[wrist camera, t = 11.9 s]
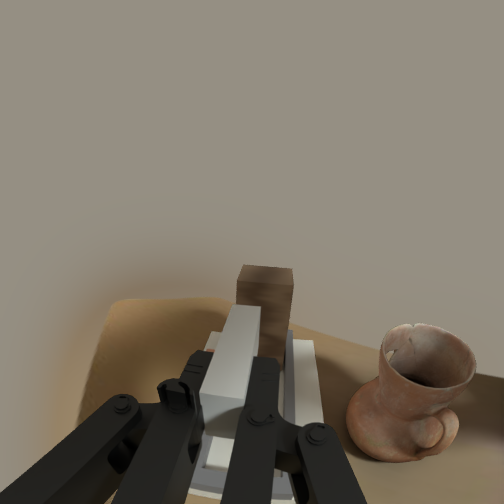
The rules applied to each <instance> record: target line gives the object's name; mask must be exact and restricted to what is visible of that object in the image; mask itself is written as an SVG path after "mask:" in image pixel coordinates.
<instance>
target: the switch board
mask: <svg viewBox="0 0 504 504" xmlns="http://www.w3.org/2000/svg"><path fill="white" fill-rule="evenodd" d="M221 334H222V332H214V331H212V332H211V334H210V336H209V339H208V341H207V343H206V346H205V348H204V351H208V352H215V349H216V347H217V344H218V341H219V339H220V336H221ZM278 411H279V413H280V415H281V416H282V418H283V419H285V420H286V421H288V422H290V423H292V424H295V425H298V426H302V427H303V426H304V425H306V424H309V423H312V422H320V423H324V421H323V412H322V404H321V396H320V388H319V380H318V373H317V366H316V359H315V352H314V345H313V341H312V340H295V339H293V331H292V330H288V332H287V339H286V346H285V352H284V359H283V365H282V371H280V381H279V399H278ZM233 444H234V439H227V438H220V437H214V436H209V435H205V430H204V432H203V435H202V448H201V451H200V455H199V458H198V461H197V465H196V468H195V471H194V474H193V478H192V481H191V484H190V487H189V491H188V493H190V494H194V495H199V496H204V497H209V498H215V499H221V498H222V494H223V489H224V485H225V480H226V476H227V471H228V467H229V462H230V458H231V453H232V449H233ZM271 504H296V503H295V500H294V496H293V492H292V488H291V485H290V481H289V477H288V473H287V472H284V471H281V470H278V469H275V468H274V479H273V489H272V499H271Z"/></svg>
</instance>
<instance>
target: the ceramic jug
mask: <svg viewBox="0 0 504 504" xmlns="http://www.w3.org/2000/svg"><path fill="white" fill-rule="evenodd" d="M392 350H394V354H393V355H392V356H391V358H390V361H388V360H387V357H386V353H387V352H389V351H392ZM475 371H476V360H475V358H474V354H473V352H472V351H471V349H470V348H469V346H468V345H467V344H466V343H465V342H464V341H463V340H462V339H460V338H459V337H457V336H455V335H454V334H453V333H450V332H448V331H446V330H444V329H442V328H439V327H436V326H433V325H428V324H422V323H420V324H419V323H416V324H414V326H411V325H409V324H402V325H399V326H396V327H394V328H392V329H391V330H390V331H388V333H387V334H386V335H385V337H384V339H383V342H382V345H381V349H380V357H379V376H378V377H376V379H374V380H372V381H370V382H368V383H366V384H365V385H363V386H362V387H361V388H359V389H358V390H357V391H356V393H355V394H354V395H353V396H352V398H351V400H350V402H349V404H348V407H347V412H346V425H347V429H348V432H349V434H350V436H351V438H352V440H353V441H354V443H355V444H356V445H357V446H358V447H359V448H360V449H361V450H362V451H363V452H364V453H366V454H367V455H369V456H371V457H373V458H375V459H377V460H381V461H384V462H391V463H401V462H410V461H417V460H421V459H423V458H424V457H425V456H431V455H437V454H438V453H441V452H442V451H444V450H445V449H446V448H447V447H448V446H449V445H450V444H451V443H452V441H453V440H454V438H455V436H456V434H457V432H458V428H459V421H458V418H457V416H456V414H455V413H454V412H453V411H452V410H451V409H449V408H447V407H448V405H449V404H450V403H451V402H452V401H453V400H454V399H455V398H456V397H457V396H458V395H459V394H460V393H461V392H462V391H463V390H464V389H465V388H466V386H467V385H468V384H469V382H470V381H471V380H472V378H473V376H474V374H475ZM441 436H442V437H441ZM440 438H441V439H440Z"/></svg>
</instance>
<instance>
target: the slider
mask: <svg viewBox="0 0 504 504" xmlns="http://www.w3.org/2000/svg"><path fill="white" fill-rule="evenodd" d="M293 286H294V284H293V274H292V269H289V268H277V267H265V266H254V265H243V267H242V269H241V272H240V274H239V277H238V279H237V293H236V294H237V295H236V305H248V306H259V307H261V312H260V329H259V345H258V353H257V357H269V358H276V359H277V361H278V363H279V364H280V371H282V365H283V359H284V352H285V346H286V339H287V332H288V325H289V318H290V310H291V303H292V295H293Z"/></svg>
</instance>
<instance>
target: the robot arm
mask: <svg viewBox="0 0 504 504" xmlns="http://www.w3.org/2000/svg"><path fill="white" fill-rule="evenodd" d="M260 312H261V307H259V306H248V305H236V304H233V305H232V307H231V310H230V312H229V315H228V318H227V320H226V323H225V326H224V328H223V331H222V334H221V336H220V339H219V341H218V344H217V347H216V349H215V352H208V351H201V350H197V351H196V352H195V353H194V354H192V355H191V356H190V358H189V360H188V362H187V365H186V366H185V368H184V371H183V372H182V374H181V376H180V378H179V379H175V378H173V379H168V380H165V381H163V382H161V383H160V384H159V385H158V386H157V390H158V394H159V397H160V401H161V402H159V403H138V401H137V399H135V398H134V397H133V396H131V395H128V394H119V395H115V396H113V397H112V398H110V399H109V400H108V401H106V402H105V403H104V404H103V405H102V406H101V407H100V408H99V409H97V410H96V411H95V412H94V413H93V414H92V415H91V416H89V417H88V418H87V419H86V420H85V421H84V422H83V423H82V424H80V425H79V426H78V427H77V428H76V429H75V430H74V431H72V432H71V433H70V434H69V435H68V436H67V437H66V438H64V439H63V440H62V441H61V442H60V443H59V444H57V445H56V446H55V447H54V448H53V449H52V450H51V451H49V452H48V453H47V454H46V455H45V456H43V457H42V458H41V459H40V460H39V461H38V462H37V463H35V464H34V465H33V466H32V467H31V468H29V469H28V470H27V471H26V472H25V473H24V474H22V475H21V476H20V477H19V478H18V479H16V480H15V481H14V482H13V483H12V484H10V485H9V486H8V487H7V488H6V489H4V490H3V491H2V492H1V493H0V504H104V503H105V502H106V501H107V500H108V499H109V498H110V497H111V495H112V494H113V493H114V492H115V491H116V490H117V489H118V490H117V492H116V494H115V496H114V498H113V500H112V503H111V504H184V503H185V500H186V497H187V494H188V491H189V487H190V484H191V481H192V478H193V474H194V471H195V468H196V465H197V461H198V458H199V455H200V451H201V448H202V435H203V432H204V430H205V435H209V436H214V437H220V438H227V439H234V444H233V449H232V453H231V458H230V462H229V467H228V471H227V476H226V480H225V485H224V489H223V494H222V498H221V502H220V504H271V499H272V489H273V479H274V468H275V469H278V470H281V471H284V472H287V473H288V477H289V481H290V485H291V488H292V492H293V496H294V500H295V503H296V504H367V502H366V500H365V497H364V495H363V493H362V490H361V488H360V486H359V484H358V481H357V479H356V477H355V475H354V472H353V470H352V468H351V466H350V463H349V461H348V459H347V457H346V454H345V452H344V450H343V447H342V445H341V443H340V441H339V438H338V436H337V434H336V432H335V431H334V429H333V428H332V427H330V426H329V425H327V424H324V423H320V422H312V423H309V424H306V425H304V426H303V427H302V426H298V425H295V424H292V423H290V422H288V421H286V420H285V419H283V418H282V416H281V415H280V413H279V411H278V399H279V381H280V364H279V363H278V361H277V359H276V358H269V357H257V353H258V345H259V329H260Z"/></svg>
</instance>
